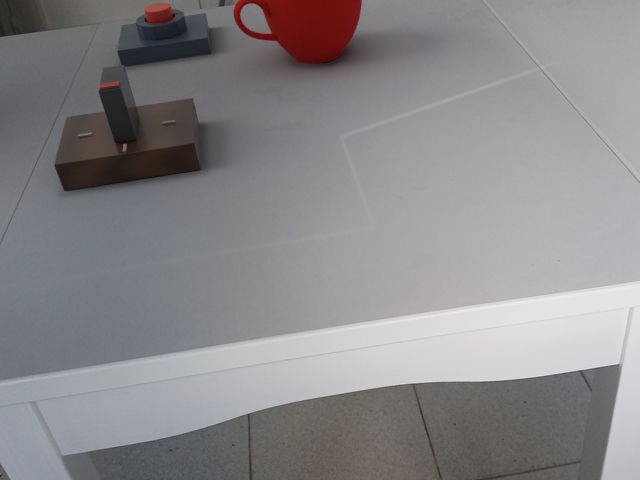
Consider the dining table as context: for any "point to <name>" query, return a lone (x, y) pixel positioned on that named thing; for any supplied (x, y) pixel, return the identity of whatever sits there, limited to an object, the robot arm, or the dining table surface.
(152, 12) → the button
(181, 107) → the dial panel
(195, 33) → the button box
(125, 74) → the pointer knob
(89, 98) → the dining table surface
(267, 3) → the ceramic cup
